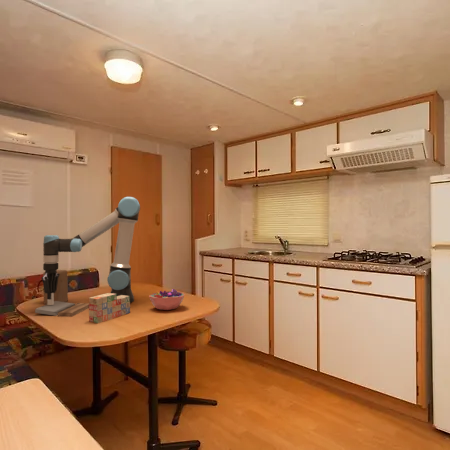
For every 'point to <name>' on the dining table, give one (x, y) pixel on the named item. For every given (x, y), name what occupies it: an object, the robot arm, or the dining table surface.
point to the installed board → (73, 310)
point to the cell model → (167, 299)
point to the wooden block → (60, 288)
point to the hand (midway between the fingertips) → (50, 304)
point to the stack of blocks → (108, 307)
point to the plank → (53, 308)
